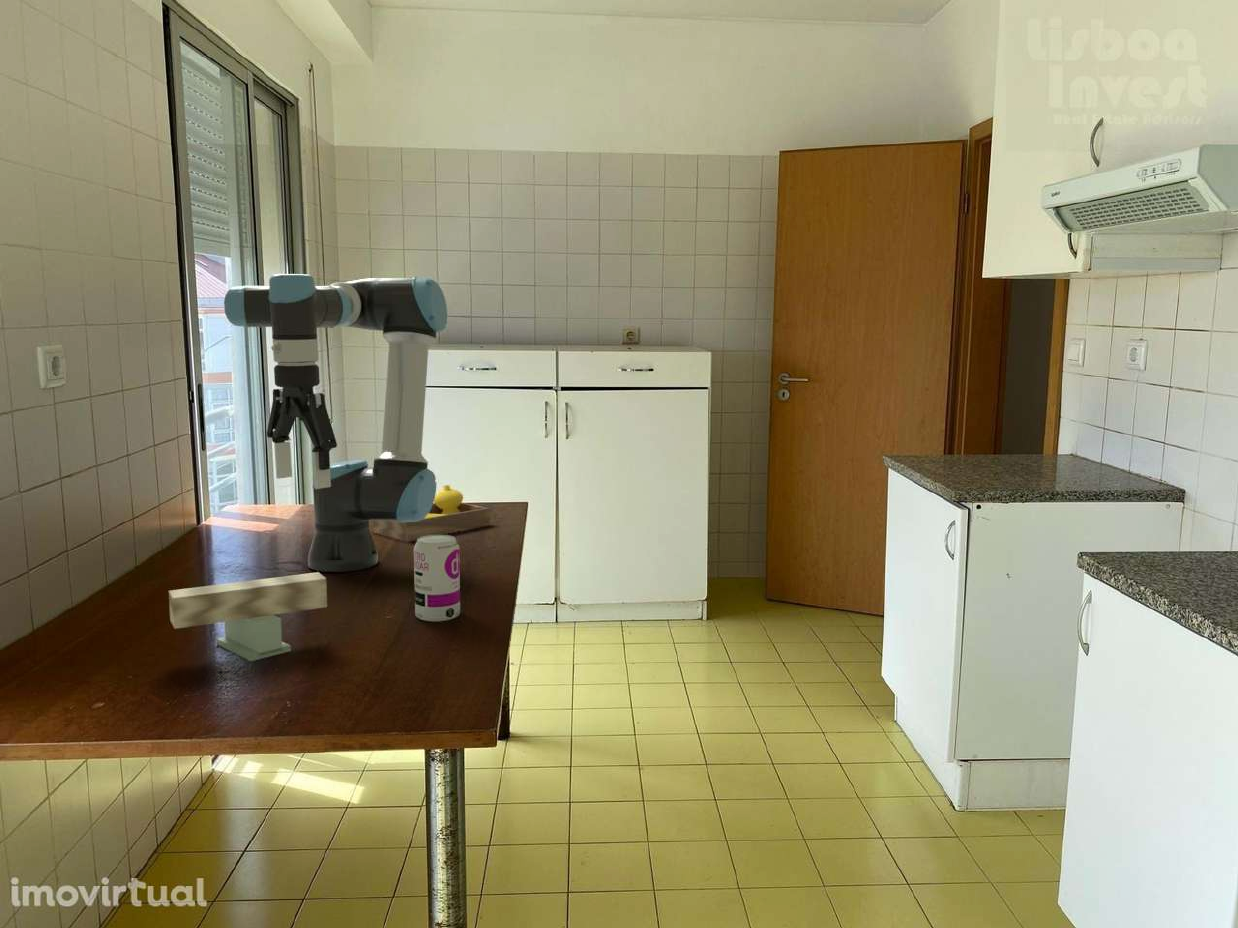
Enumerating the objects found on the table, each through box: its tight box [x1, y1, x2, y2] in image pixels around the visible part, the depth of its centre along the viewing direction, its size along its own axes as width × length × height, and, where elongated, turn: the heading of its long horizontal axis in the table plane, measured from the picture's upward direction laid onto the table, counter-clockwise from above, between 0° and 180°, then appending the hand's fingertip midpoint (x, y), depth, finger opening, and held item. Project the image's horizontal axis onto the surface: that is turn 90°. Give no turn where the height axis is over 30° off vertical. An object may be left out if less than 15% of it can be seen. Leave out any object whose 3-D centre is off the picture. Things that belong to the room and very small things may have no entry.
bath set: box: [425, 484, 464, 518], centre depth 255 cm, size 20×10×11 cm, turn 145°
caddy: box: [370, 502, 491, 543], centre depth 252 cm, size 16×26×6 cm, turn 137°
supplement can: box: [413, 534, 461, 622], centre depth 179 cm, size 8×8×15 cm
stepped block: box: [216, 614, 292, 662], centre depth 161 cm, size 12×7×6 cm, turn 47°
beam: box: [168, 571, 328, 630], centre depth 161 cm, size 24×5×5 cm, turn 122°
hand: (303, 482), depth 172 cm, fingers open, 13 cm apart
